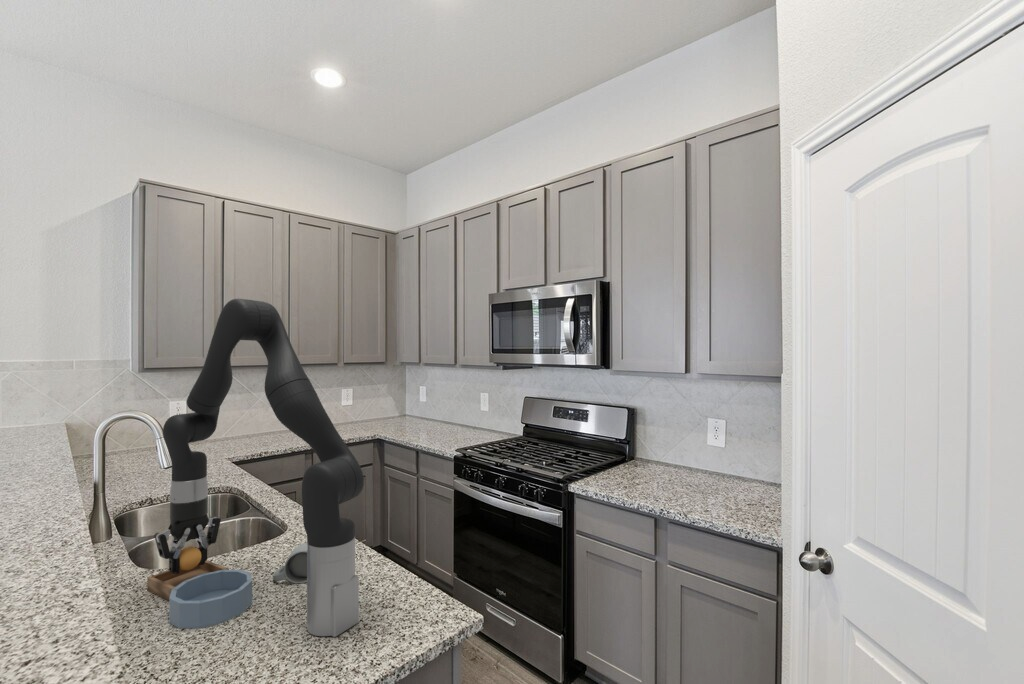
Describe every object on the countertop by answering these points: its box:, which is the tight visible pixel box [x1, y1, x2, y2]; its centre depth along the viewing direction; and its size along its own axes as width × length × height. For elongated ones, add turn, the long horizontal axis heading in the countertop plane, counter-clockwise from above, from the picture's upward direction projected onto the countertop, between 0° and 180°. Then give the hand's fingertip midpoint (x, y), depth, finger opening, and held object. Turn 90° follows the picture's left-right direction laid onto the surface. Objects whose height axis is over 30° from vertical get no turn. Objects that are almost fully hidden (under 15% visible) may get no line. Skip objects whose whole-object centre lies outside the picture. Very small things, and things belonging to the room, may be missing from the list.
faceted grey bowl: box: [168, 569, 253, 629], centre depth 105 cm, size 15×15×5 cm
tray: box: [146, 560, 230, 602], centre depth 115 cm, size 12×12×3 cm
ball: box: [179, 545, 202, 570], centre depth 115 cm, size 5×5×5 cm
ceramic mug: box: [272, 542, 307, 584], centre depth 120 cm, size 11×8×8 cm
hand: (188, 568), depth 115 cm, fingers closed on ball, 5 cm apart
